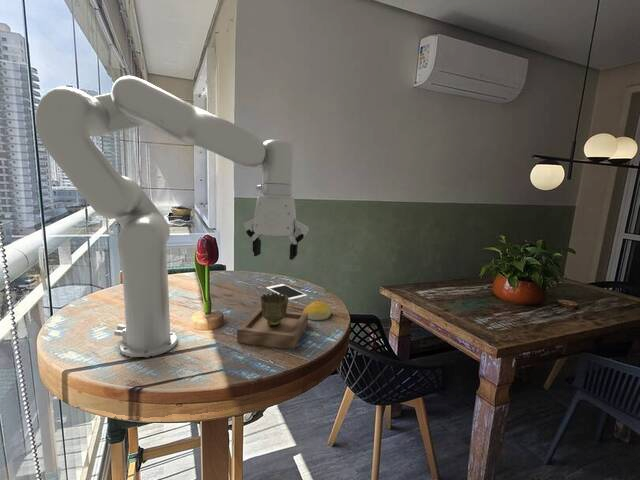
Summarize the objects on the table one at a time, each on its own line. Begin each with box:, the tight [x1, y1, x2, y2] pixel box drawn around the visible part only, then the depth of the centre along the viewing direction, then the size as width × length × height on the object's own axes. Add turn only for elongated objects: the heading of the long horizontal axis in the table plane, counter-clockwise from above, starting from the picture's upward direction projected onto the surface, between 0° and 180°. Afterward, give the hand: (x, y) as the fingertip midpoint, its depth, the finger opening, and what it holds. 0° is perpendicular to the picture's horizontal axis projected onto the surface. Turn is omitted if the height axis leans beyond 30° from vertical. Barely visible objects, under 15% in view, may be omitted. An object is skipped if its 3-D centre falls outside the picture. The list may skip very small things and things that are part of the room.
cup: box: [260, 292, 289, 327], centre depth 92 cm, size 8×7×8 cm
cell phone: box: [266, 283, 308, 301], centre depth 128 cm, size 8×16×1 cm, turn 40°
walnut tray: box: [236, 307, 309, 351], centre depth 93 cm, size 15×15×4 cm
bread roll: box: [302, 300, 332, 321], centre depth 106 cm, size 8×9×4 cm
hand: (274, 256), depth 89 cm, fingers open, 9 cm apart
